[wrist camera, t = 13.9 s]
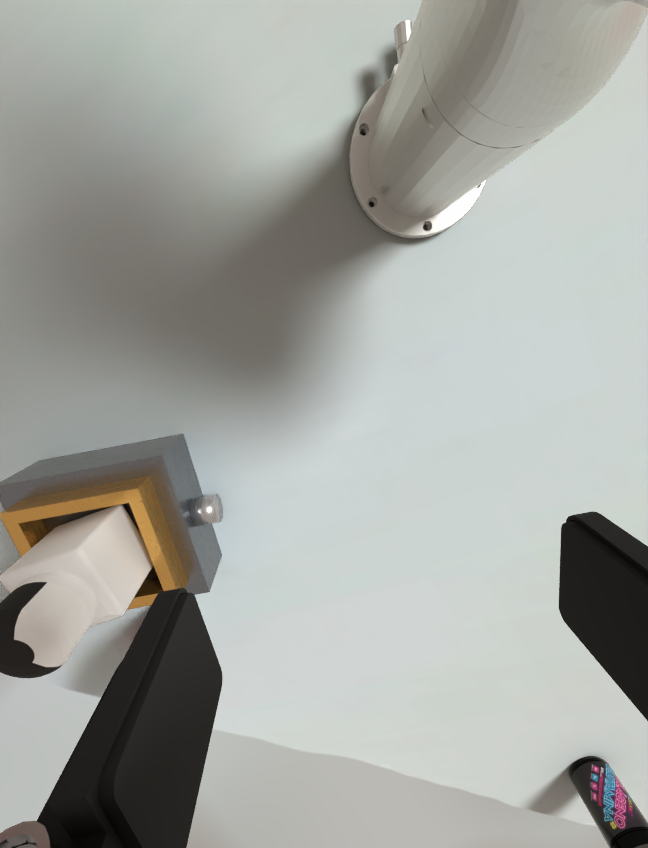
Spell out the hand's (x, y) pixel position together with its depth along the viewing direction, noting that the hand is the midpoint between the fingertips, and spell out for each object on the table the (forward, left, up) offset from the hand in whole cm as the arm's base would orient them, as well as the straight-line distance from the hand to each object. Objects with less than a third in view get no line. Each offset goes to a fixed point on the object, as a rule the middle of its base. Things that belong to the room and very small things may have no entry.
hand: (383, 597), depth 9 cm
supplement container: (+73, +32, -31) cm, 85 cm away
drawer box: (+11, -23, -30) cm, 39 cm away
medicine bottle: (+11, -24, -24) cm, 36 cm away
